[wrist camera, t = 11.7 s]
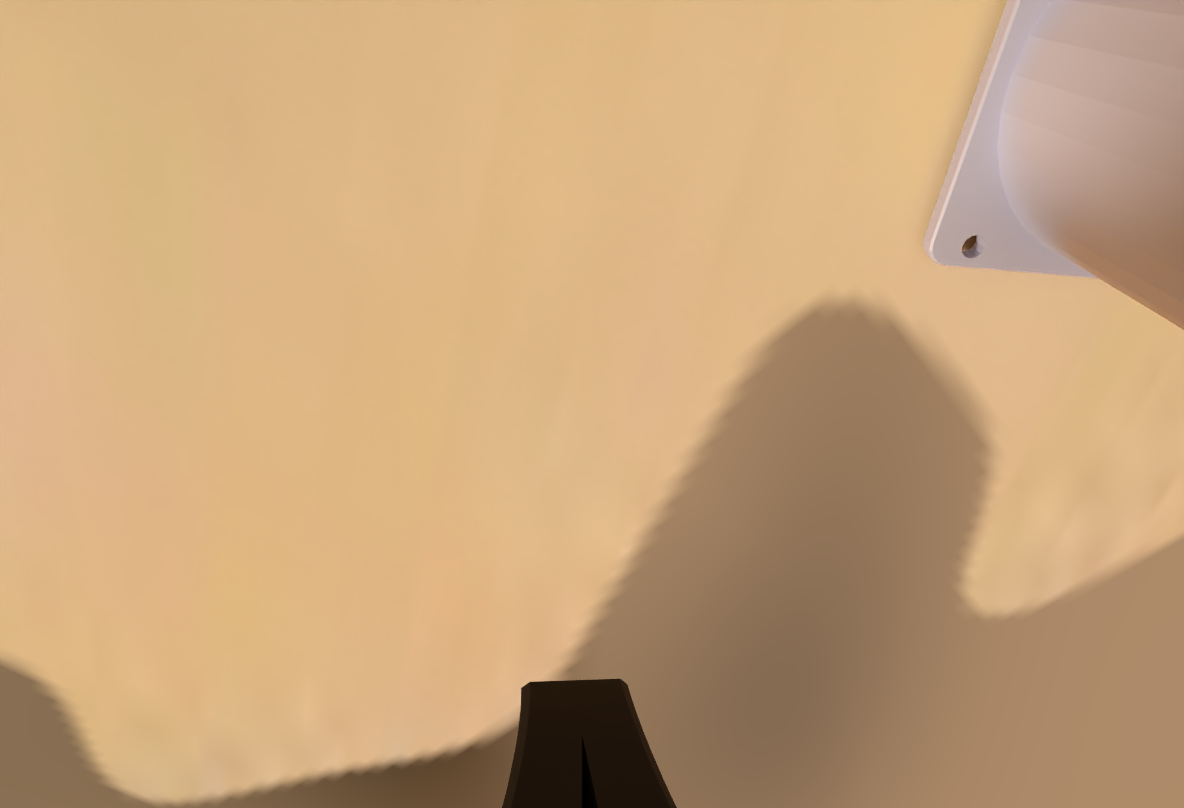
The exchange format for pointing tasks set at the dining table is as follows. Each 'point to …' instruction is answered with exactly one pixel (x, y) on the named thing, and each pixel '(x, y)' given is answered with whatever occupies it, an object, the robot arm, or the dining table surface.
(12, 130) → the dining table surface
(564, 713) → the robot arm
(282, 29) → the dining table surface
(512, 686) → the dining table surface
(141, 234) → the dining table surface
